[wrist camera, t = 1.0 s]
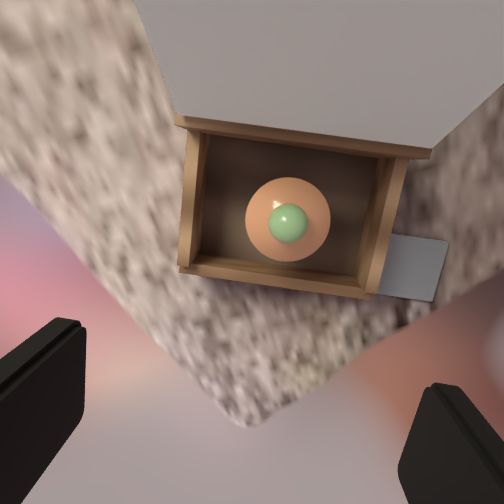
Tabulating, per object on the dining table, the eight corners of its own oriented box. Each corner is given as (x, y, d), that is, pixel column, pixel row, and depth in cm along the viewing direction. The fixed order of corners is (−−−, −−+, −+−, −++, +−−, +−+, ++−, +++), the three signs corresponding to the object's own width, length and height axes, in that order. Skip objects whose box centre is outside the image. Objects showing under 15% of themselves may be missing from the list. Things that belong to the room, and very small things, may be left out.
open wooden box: (209, 32, 29) (40, -306, 8) (410, 58, 29) (795, -227, 8) (189, 260, 35) (56, 419, 13) (359, 284, 34) (502, 488, 13)
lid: (177, 114, 22) (178, 106, 23) (432, 148, 22) (432, 139, 22) (78, -149, 10) (83, -166, 10) (681, -79, 9) (679, -97, 9)
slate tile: (382, 231, 33) (384, 233, 32) (446, 240, 32) (449, 242, 32) (368, 290, 34) (370, 292, 34) (429, 299, 34) (432, 301, 33)
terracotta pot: (255, 169, 31) (248, 173, 22) (323, 178, 31) (345, 186, 22) (247, 235, 33) (237, 265, 24) (311, 244, 33) (326, 278, 24)
